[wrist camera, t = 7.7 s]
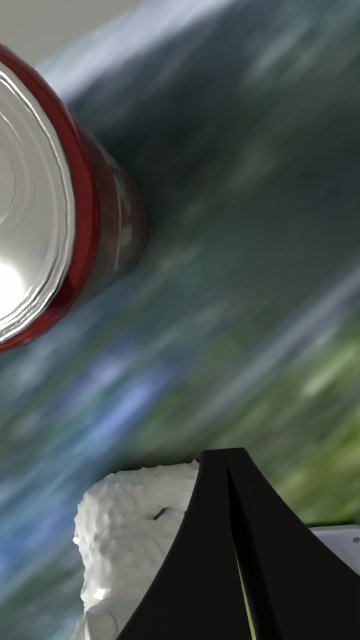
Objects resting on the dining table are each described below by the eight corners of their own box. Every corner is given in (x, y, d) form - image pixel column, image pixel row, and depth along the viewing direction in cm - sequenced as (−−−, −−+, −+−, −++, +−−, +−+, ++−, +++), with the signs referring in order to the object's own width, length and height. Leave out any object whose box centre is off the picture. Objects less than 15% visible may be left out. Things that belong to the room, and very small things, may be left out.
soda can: (75, 120, 17) (-155, -123, 5) (176, 220, 18) (165, 198, 7) (-7, 225, 18) (-330, 211, 7) (92, 312, 20) (-37, 425, 8)
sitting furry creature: (183, 565, 25) (183, 862, 13) (70, 536, 24) (-35, 820, 12) (225, 462, 22) (271, 711, 11) (102, 428, 22) (10, 652, 10)
